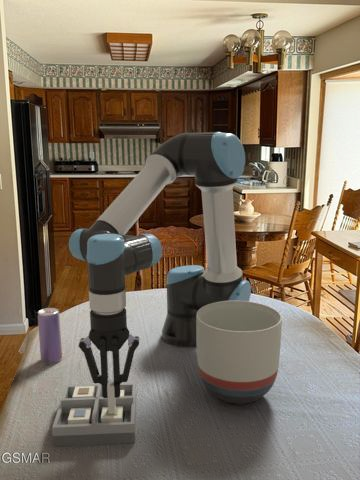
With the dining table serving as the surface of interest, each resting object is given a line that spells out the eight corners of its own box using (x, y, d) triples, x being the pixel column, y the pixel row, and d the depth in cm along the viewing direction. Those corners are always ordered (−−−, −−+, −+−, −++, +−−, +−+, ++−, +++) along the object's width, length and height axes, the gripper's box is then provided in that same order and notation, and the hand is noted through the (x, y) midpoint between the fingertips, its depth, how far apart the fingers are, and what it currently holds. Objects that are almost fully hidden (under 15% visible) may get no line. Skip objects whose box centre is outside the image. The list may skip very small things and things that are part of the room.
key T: (92, 420, 107) (91, 406, 107) (89, 432, 103) (88, 418, 102) (71, 421, 107) (70, 407, 106) (68, 433, 103) (67, 419, 102)
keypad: (136, 397, 118) (136, 376, 117) (134, 442, 101) (134, 418, 100) (67, 400, 117) (65, 379, 116) (53, 446, 100) (51, 421, 99)
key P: (123, 418, 108) (122, 405, 107) (122, 431, 103) (121, 416, 103) (103, 419, 108) (102, 406, 107) (101, 431, 103) (100, 417, 102)
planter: (196, 374, 130) (196, 300, 125) (271, 375, 129) (274, 300, 124) (196, 418, 110) (196, 331, 105) (285, 419, 109) (289, 332, 105)
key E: (95, 398, 114) (94, 385, 113) (92, 408, 110) (92, 395, 109) (75, 398, 114) (75, 385, 113) (73, 409, 109) (72, 396, 109)
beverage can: (56, 365, 135) (53, 315, 132) (37, 363, 136) (33, 314, 133) (65, 356, 141) (62, 308, 138) (46, 354, 142) (43, 306, 139)
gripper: (139, 301, 104) (142, 399, 109) (78, 303, 103) (84, 401, 108) (139, 314, 96) (141, 418, 102) (73, 316, 96) (79, 421, 101)
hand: (112, 410), depth 105 cm, fingers closed
